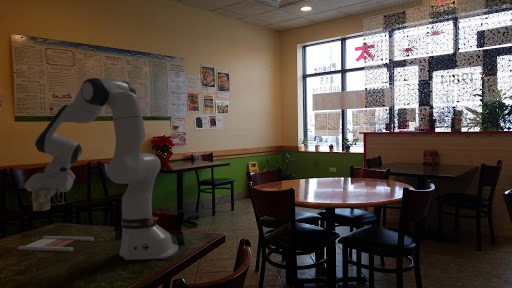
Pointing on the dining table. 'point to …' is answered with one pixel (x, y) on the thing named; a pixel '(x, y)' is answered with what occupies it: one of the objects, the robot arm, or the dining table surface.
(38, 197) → the maple block
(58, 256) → the dining table surface
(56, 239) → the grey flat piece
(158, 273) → the dining table surface
